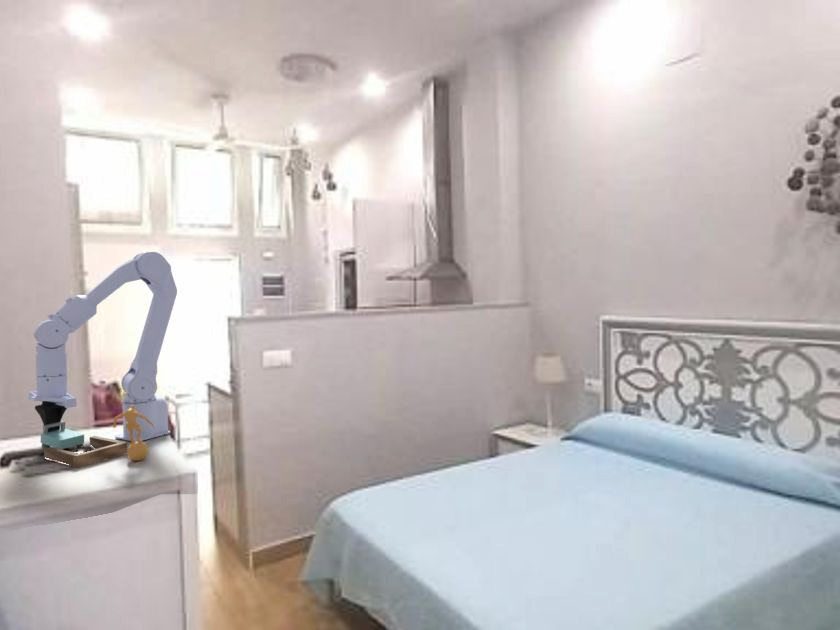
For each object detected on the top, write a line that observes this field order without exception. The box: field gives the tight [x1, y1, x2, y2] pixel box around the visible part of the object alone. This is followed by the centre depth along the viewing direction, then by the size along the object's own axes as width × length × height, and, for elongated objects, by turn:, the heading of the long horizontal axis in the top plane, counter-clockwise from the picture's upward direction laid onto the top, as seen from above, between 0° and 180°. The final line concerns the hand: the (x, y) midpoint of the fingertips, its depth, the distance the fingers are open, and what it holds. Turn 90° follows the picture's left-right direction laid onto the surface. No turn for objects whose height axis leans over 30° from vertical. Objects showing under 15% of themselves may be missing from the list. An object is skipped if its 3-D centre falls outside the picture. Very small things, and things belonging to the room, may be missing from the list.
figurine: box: [112, 405, 154, 462], centre depth 118 cm, size 8×6×12 cm
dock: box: [43, 435, 128, 469], centre depth 122 cm, size 11×11×2 cm
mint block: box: [40, 420, 85, 450], centre depth 126 cm, size 5×7×5 cm
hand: (52, 435), depth 127 cm, fingers closed, pressing on mint block
